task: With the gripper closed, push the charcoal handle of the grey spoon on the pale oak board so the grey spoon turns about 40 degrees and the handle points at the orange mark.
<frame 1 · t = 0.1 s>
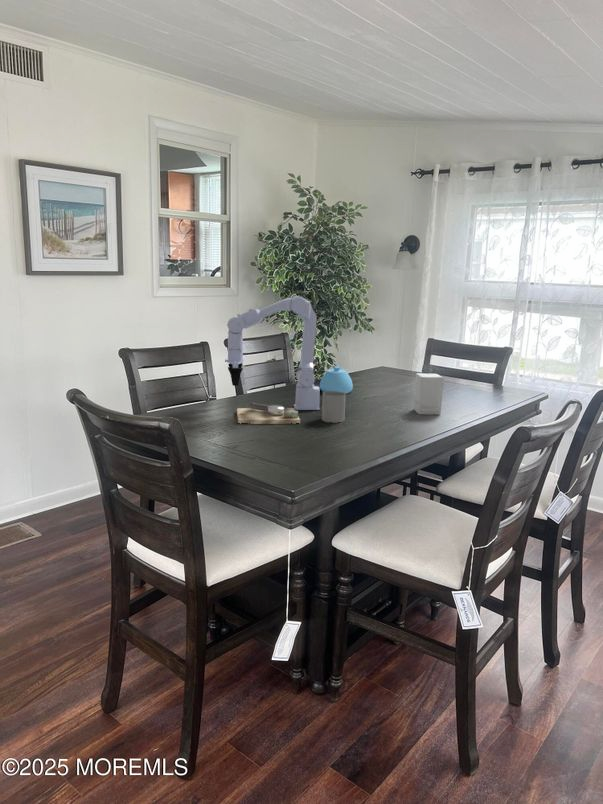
hand: (235, 383, 233), 10 cm above the table, tool pointing down, fingers open, 7 cm apart
cup: (333, 420, 222), on the table
oak board: (267, 417, 222), on the table
sugar bowl: (335, 392, 272), on the table
grey spoon: (267, 408, 223), point 3 cm above the table, hinge at -40.0°
supplement box: (426, 412, 238), on the table
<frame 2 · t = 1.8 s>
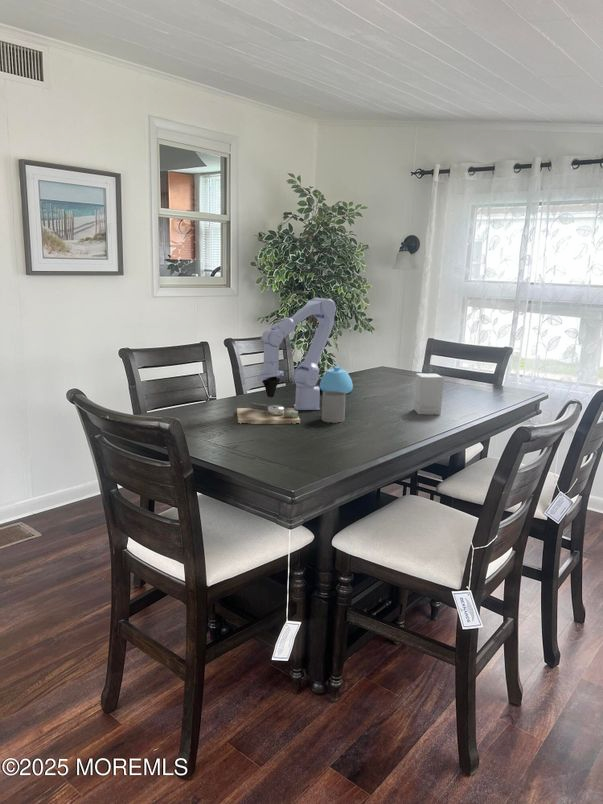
hand: (270, 396, 229), 6 cm above the table, tool pointing down, fingers closed
nothing on the table moved.
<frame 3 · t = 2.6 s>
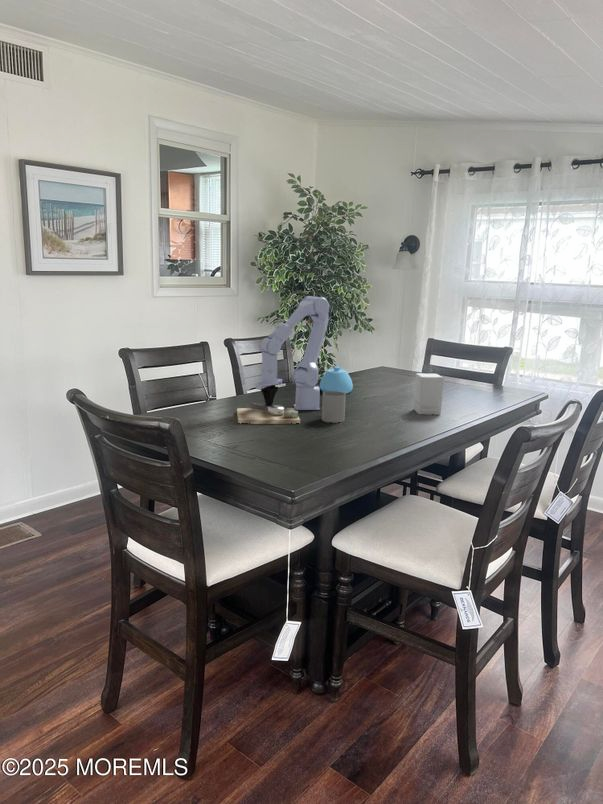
hand: (269, 405, 229), 3 cm above the table, tool pointing down, fingers closed
nothing on the table moved.
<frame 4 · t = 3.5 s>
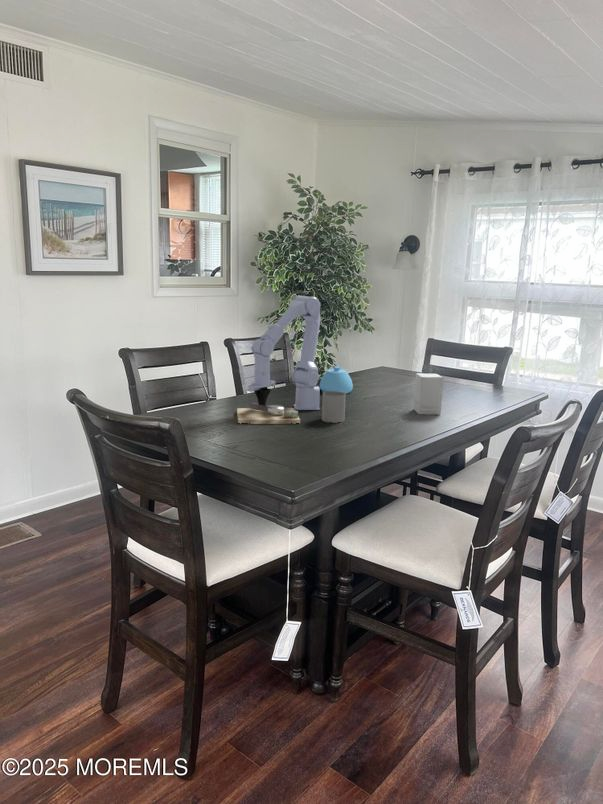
hand: (261, 407, 225), 3 cm above the table, tool pointing down, fingers closed, pressing on grey spoon
grey spoon: (267, 408, 223), point 3 cm above the table, hinge at -39.1°, touching gripper
everything else where it was.
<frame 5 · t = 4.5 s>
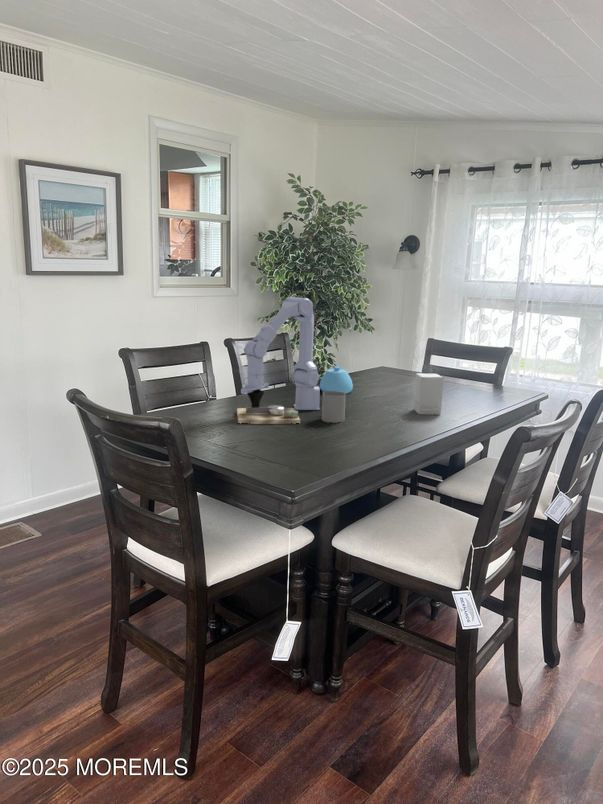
hand: (255, 410, 222), 3 cm above the table, tool pointing down, fingers closed, pressing on grey spoon
grey spoon: (265, 410, 220), point 3 cm above the table, hinge at -0.2°, touching gripper
everything else where it was.
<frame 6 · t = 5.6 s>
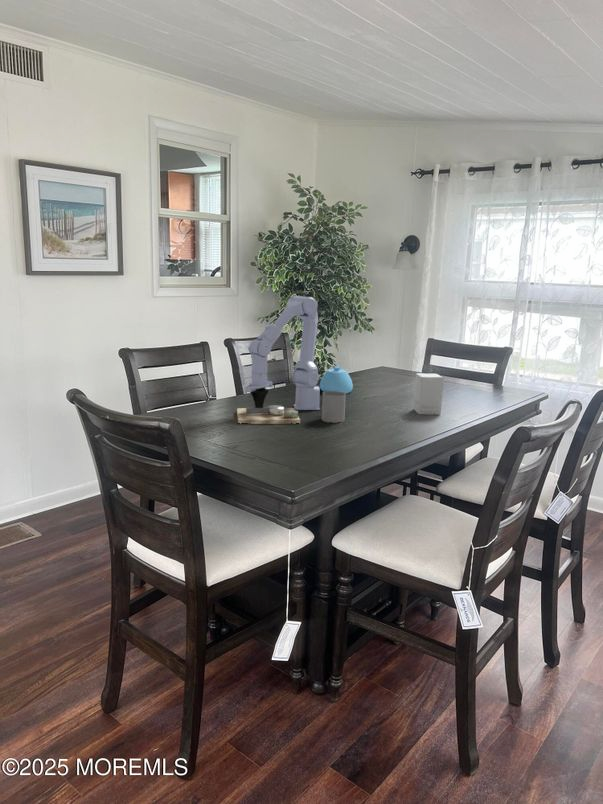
hand: (259, 408, 224), 3 cm above the table, tool pointing down, fingers closed
grey spoon: (265, 410, 220), point 3 cm above the table, hinge at 5.5°
everything else where it was.
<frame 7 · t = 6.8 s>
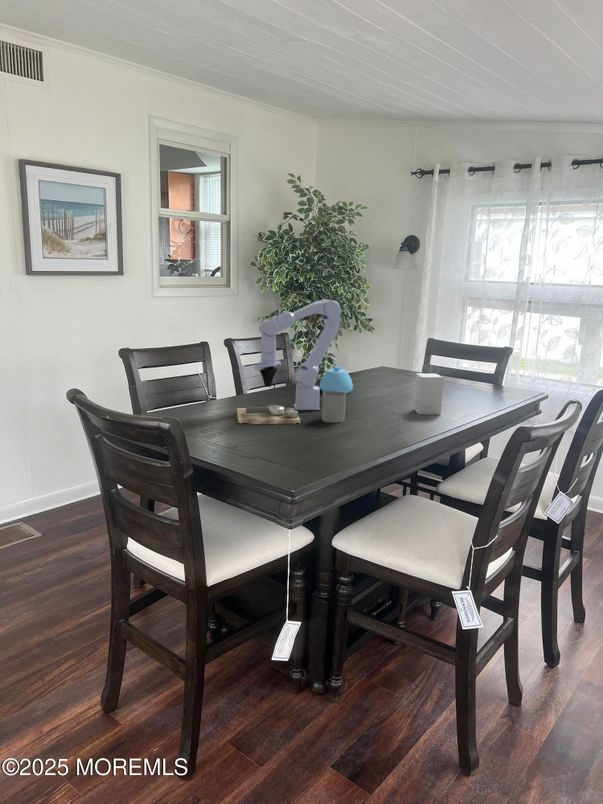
hand: (267, 386, 232), 9 cm above the table, tool pointing down, fingers closed
nothing on the table moved.
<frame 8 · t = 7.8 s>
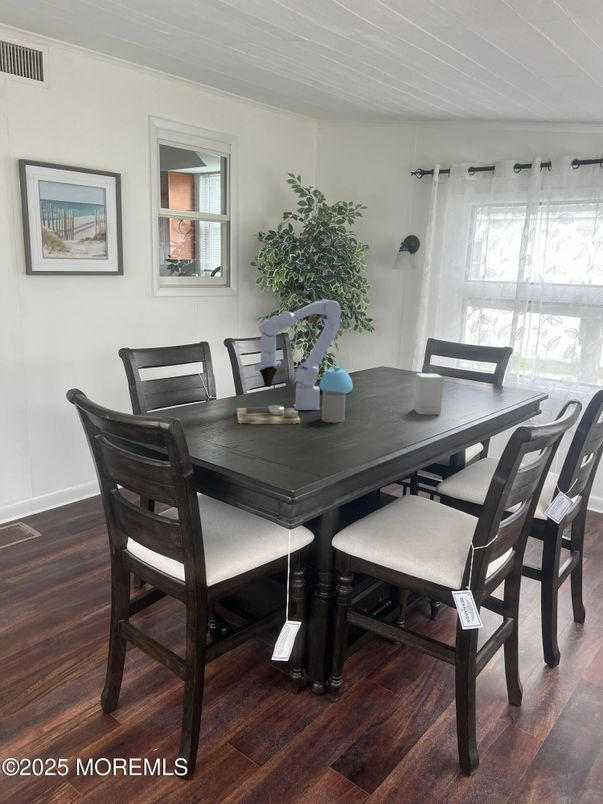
hand: (267, 386, 232), 9 cm above the table, tool pointing down, fingers closed
nothing on the table moved.
at the end: grey spoon at +6° (first picture: -40°) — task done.
